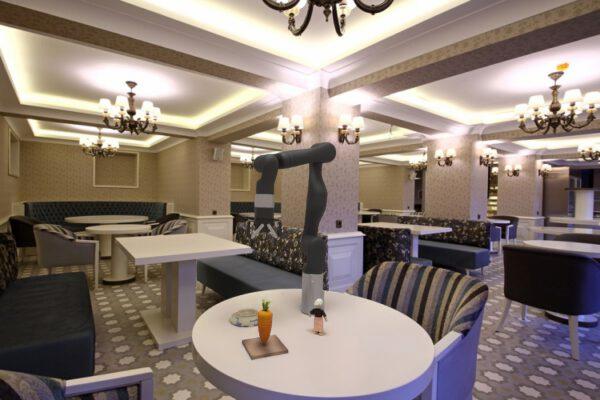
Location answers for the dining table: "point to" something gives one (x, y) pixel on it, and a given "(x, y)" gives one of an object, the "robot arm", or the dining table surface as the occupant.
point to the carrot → (265, 321)
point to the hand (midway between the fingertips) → (263, 248)
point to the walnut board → (264, 347)
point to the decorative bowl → (245, 318)
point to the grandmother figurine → (318, 317)
